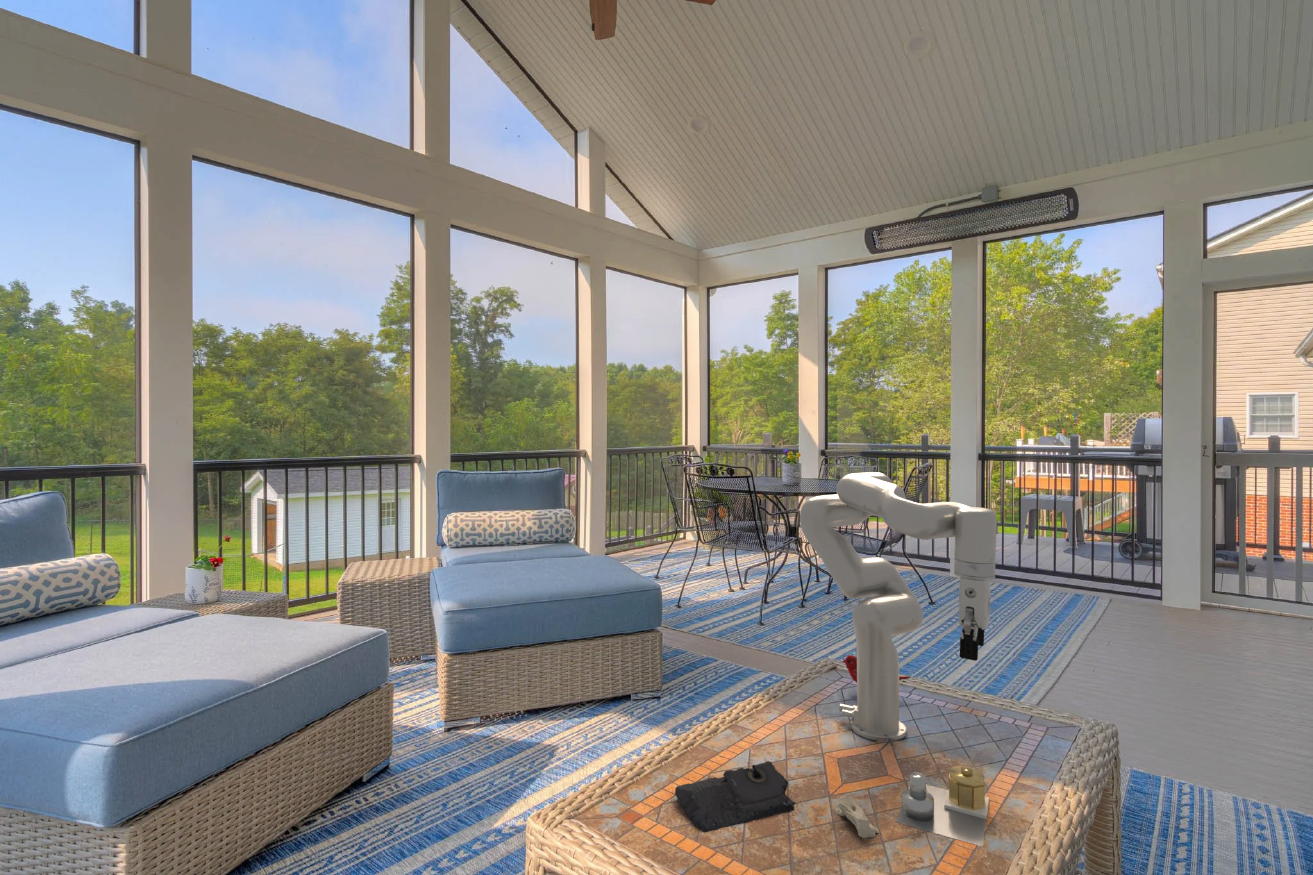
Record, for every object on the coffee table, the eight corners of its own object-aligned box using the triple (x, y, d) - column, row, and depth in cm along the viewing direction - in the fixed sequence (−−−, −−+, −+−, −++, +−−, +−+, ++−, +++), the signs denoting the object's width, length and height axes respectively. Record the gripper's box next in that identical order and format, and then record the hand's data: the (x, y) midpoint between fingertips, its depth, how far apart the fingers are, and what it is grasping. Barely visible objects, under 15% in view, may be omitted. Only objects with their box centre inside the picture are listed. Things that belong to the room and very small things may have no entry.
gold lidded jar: (983, 812, 118) (983, 781, 118) (947, 803, 121) (947, 772, 121) (985, 796, 124) (985, 766, 124) (951, 788, 127) (950, 758, 127)
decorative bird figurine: (842, 688, 181) (842, 652, 181) (910, 698, 174) (910, 660, 174) (841, 692, 178) (841, 655, 178) (910, 702, 171) (910, 664, 171)
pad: (944, 807, 121) (944, 804, 121) (948, 790, 127) (949, 787, 127) (986, 819, 118) (986, 815, 118) (989, 800, 124) (989, 797, 124)
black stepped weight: (665, 794, 129) (665, 770, 129) (761, 771, 137) (761, 749, 137) (699, 838, 115) (699, 811, 115) (804, 810, 123) (803, 785, 123)
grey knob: (899, 815, 119) (899, 778, 119) (905, 801, 123) (905, 765, 123) (931, 824, 116) (931, 786, 116) (935, 809, 121) (935, 772, 121)
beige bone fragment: (854, 808, 123) (853, 784, 123) (886, 841, 113) (886, 816, 113) (827, 812, 122) (826, 789, 122) (857, 846, 112) (857, 821, 112)
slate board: (895, 827, 117) (895, 821, 117) (911, 785, 131) (911, 780, 131) (982, 852, 110) (982, 846, 110) (989, 805, 124) (989, 800, 124)
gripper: (990, 580, 123) (987, 669, 124) (999, 563, 137) (997, 642, 138) (947, 574, 127) (944, 660, 128) (960, 558, 142) (958, 636, 142)
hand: (972, 651), depth 133 cm, fingers open, 9 cm apart
